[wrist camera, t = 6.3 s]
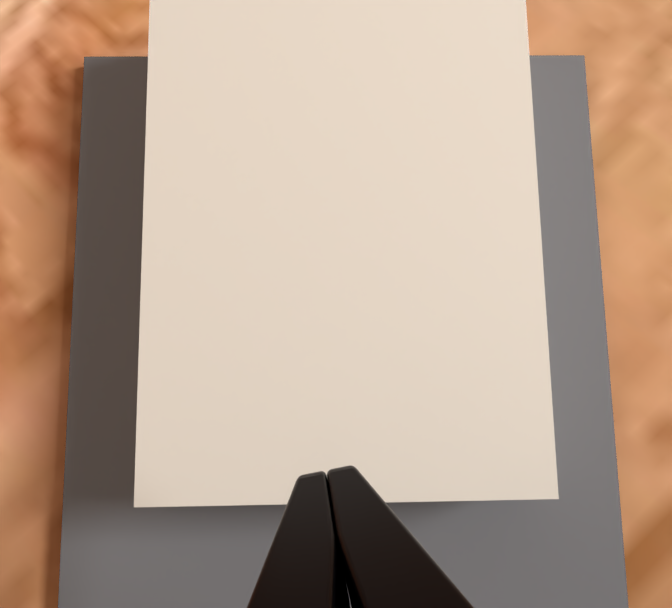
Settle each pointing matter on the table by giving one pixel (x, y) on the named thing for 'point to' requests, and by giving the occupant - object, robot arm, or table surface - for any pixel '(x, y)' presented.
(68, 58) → the table surface
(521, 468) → the cream rectangular block
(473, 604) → the mat
